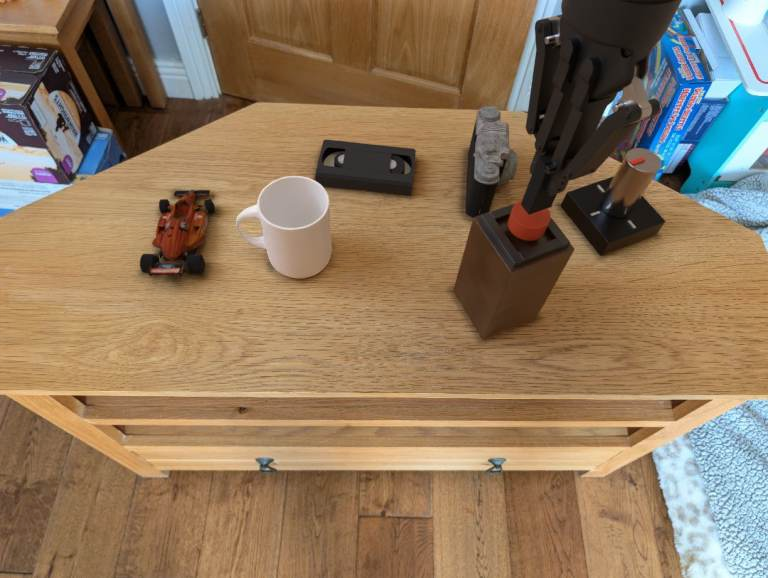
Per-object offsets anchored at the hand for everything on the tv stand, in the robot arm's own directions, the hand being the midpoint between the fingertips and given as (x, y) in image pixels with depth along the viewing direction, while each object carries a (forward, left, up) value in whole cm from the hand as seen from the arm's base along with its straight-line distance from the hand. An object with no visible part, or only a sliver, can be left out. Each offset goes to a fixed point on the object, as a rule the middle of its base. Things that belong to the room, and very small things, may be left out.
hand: (536, 205), depth 56 cm
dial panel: (+6, -23, -20) cm, 31 cm away
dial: (+6, -23, -17) cm, 29 cm away
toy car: (+26, +34, -20) cm, 47 cm away
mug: (+18, +22, -20) cm, 35 cm away
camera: (+19, -10, -20) cm, 29 cm away
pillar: (0, 0, -20) cm, 20 cm away
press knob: (0, 0, -4) cm, 4 cm away
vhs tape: (+28, +6, -20) cm, 35 cm away
